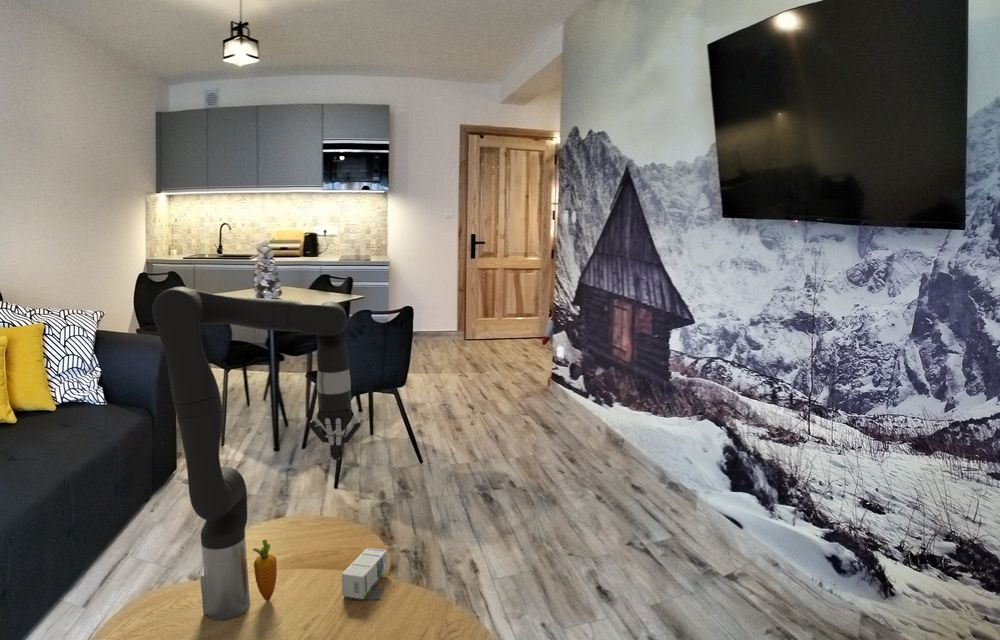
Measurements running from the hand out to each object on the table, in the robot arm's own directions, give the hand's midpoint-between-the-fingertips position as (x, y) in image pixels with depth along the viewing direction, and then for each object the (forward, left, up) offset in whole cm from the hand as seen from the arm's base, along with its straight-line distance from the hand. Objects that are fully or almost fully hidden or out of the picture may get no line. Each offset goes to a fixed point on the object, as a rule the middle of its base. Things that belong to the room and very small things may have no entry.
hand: (337, 458), depth 154 cm
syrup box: (+4, -6, -29) cm, 30 cm away
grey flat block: (+6, -3, -33) cm, 34 cm away
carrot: (-16, -7, -33) cm, 38 cm away
